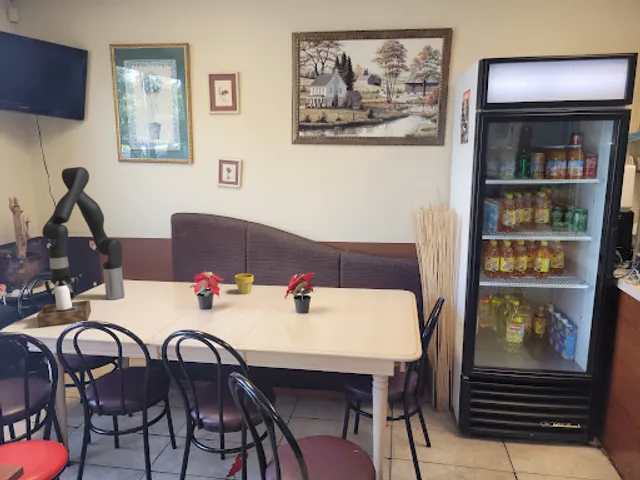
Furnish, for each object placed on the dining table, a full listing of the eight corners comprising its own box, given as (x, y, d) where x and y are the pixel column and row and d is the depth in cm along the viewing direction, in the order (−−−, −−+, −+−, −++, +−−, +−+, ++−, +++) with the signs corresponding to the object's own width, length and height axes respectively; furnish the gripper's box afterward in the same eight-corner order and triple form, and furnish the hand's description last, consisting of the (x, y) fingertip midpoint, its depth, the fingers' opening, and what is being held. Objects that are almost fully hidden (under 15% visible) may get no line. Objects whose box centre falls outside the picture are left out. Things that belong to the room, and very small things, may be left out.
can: (65, 311, 212) (62, 286, 210) (53, 310, 214) (50, 285, 212) (75, 306, 219) (72, 282, 217) (63, 305, 220) (61, 282, 218)
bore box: (91, 311, 228) (89, 300, 227) (87, 321, 213) (85, 309, 212) (45, 316, 221) (44, 305, 220) (38, 327, 206) (36, 315, 205)
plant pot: (246, 288, 264) (246, 272, 262) (257, 292, 257) (257, 275, 255) (232, 292, 257) (231, 275, 255) (242, 296, 250) (242, 279, 248)
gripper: (77, 263, 218) (81, 296, 221) (43, 266, 214) (48, 299, 217) (75, 266, 212) (79, 300, 215) (40, 269, 207) (44, 304, 210)
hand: (63, 300), depth 216 cm, fingers closed on can, 6 cm apart
